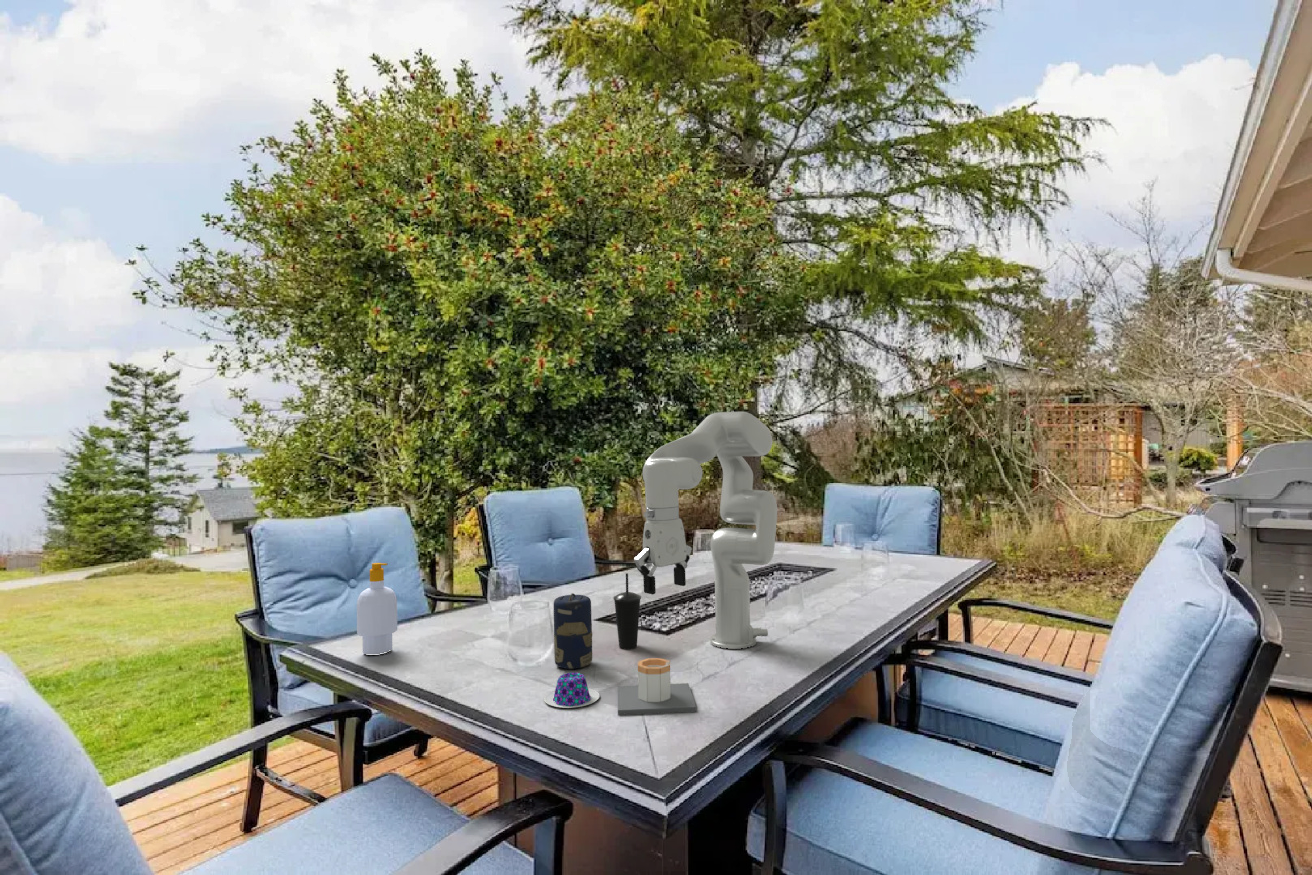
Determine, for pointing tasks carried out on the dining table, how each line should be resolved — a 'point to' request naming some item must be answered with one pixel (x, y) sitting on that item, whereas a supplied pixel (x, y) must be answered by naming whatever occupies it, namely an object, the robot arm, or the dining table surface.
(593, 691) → the pudding
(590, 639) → the canister
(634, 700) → the base
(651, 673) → the vent collar
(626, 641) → the drinking cup
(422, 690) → the dining table surface
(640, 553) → the robot arm
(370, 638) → the soap bottle
